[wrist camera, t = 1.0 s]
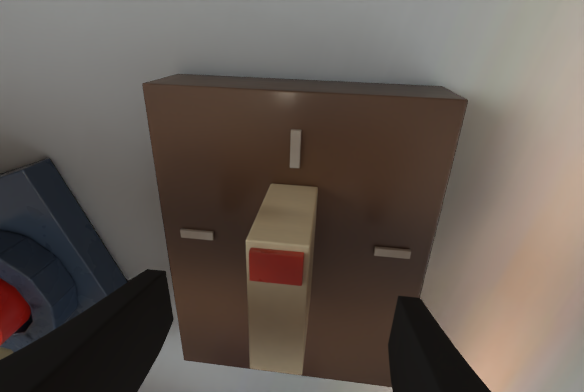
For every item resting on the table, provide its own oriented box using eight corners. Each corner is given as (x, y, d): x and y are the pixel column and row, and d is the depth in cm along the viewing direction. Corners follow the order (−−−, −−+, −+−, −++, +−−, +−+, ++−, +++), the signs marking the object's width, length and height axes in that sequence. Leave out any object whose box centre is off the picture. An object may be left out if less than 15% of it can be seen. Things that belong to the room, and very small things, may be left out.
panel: (389, 340, 20) (398, 391, 17) (203, 318, 21) (182, 363, 18) (443, 86, 14) (470, 100, 11) (177, 73, 15) (139, 83, 12)
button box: (151, 319, 21) (119, 369, 18) (40, 339, 24) (-6, 386, 20) (49, 157, 17) (-15, 185, 14) (-75, 199, 19) (-154, 231, 16)
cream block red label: (310, 294, 15) (301, 383, 11) (270, 290, 15) (247, 375, 12) (317, 186, 13) (309, 251, 9) (270, 182, 13) (242, 245, 9)
